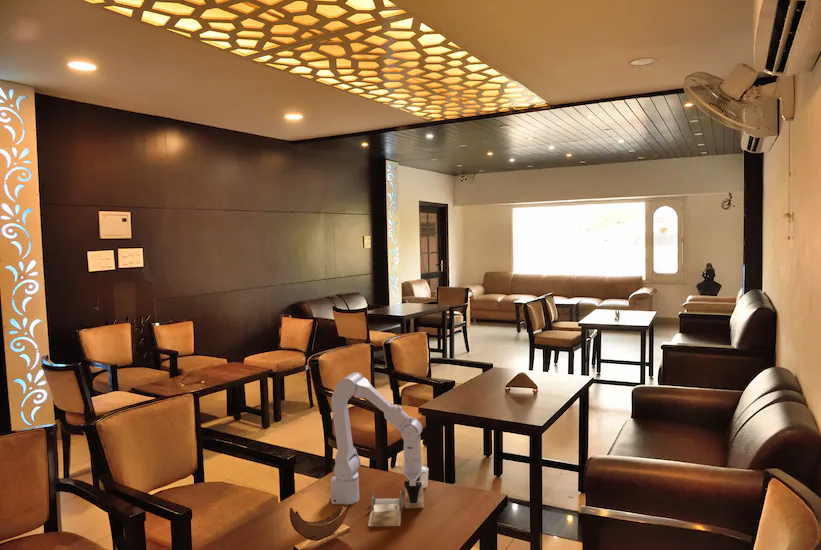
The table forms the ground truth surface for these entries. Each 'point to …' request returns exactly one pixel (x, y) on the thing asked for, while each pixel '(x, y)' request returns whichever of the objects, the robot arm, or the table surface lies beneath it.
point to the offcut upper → (384, 511)
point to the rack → (396, 502)
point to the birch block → (419, 502)
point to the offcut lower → (384, 519)
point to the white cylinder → (424, 477)
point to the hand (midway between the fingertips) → (413, 497)
